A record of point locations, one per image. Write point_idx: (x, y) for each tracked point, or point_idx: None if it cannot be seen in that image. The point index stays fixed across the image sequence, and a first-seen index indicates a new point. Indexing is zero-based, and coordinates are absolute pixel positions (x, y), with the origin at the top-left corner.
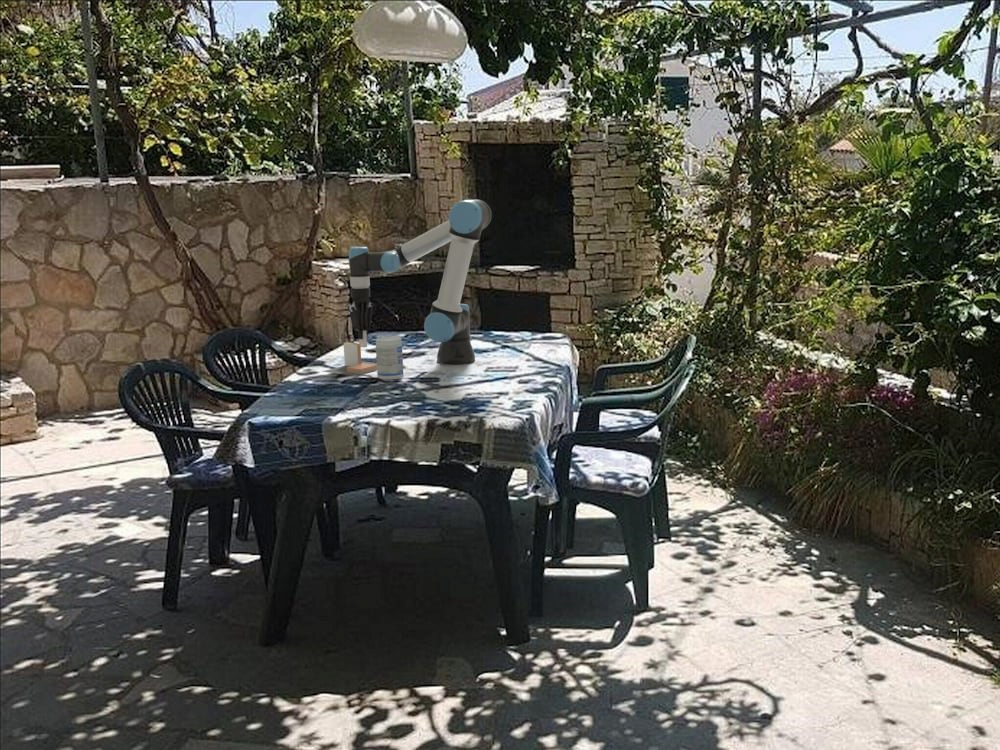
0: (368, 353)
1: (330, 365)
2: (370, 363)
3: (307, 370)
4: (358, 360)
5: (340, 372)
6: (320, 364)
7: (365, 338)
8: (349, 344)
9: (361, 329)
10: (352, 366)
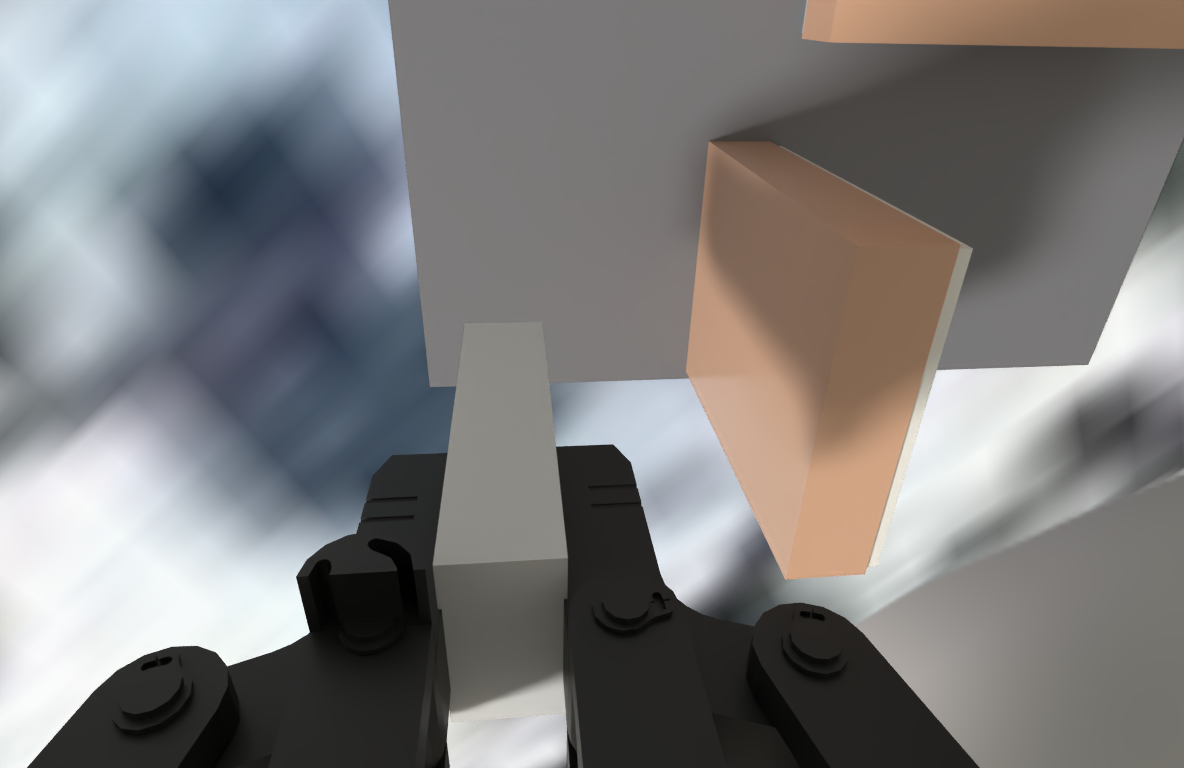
0: (9, 639)
1: (731, 528)
2: (472, 178)
3: (1002, 535)
4: (804, 160)
5: (1123, 134)
6: (726, 620)
7: (499, 416)
8: (912, 435)
9: (673, 619)
10: (1115, 5)
